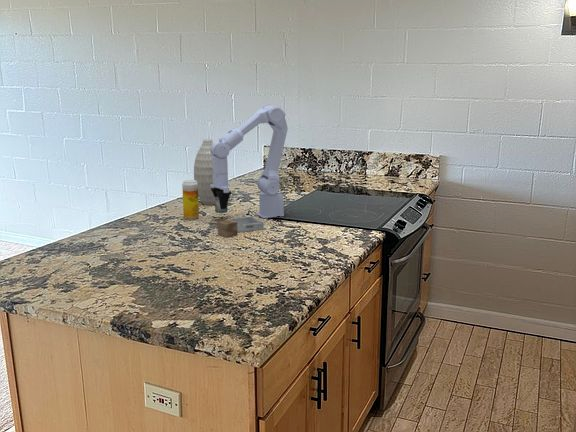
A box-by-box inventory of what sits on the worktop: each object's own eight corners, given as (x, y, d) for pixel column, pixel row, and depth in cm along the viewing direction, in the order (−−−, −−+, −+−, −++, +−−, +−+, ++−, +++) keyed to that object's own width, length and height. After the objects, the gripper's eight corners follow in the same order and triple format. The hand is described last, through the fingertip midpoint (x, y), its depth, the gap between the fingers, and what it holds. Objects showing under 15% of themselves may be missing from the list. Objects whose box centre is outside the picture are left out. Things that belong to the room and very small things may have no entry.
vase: (189, 205, 253) (186, 140, 245) (204, 199, 264) (202, 137, 257) (215, 207, 248) (213, 142, 241) (228, 201, 259) (227, 138, 252)
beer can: (195, 220, 228) (194, 183, 224) (181, 219, 229) (179, 182, 225) (201, 216, 233) (200, 180, 230) (186, 215, 234) (185, 179, 231)
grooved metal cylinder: (225, 209, 230) (225, 194, 229) (229, 212, 226) (229, 197, 224) (213, 210, 228) (212, 195, 227) (217, 213, 224) (216, 198, 222)
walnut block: (228, 232, 212) (228, 219, 211) (237, 235, 209) (237, 221, 207) (218, 235, 209) (217, 221, 207) (226, 238, 205) (226, 224, 204)
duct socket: (253, 222, 225) (253, 216, 225) (264, 229, 215) (264, 223, 215) (226, 225, 221) (226, 218, 220) (236, 233, 211) (236, 226, 210)
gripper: (205, 170, 228) (206, 204, 231) (215, 177, 215) (217, 212, 219) (222, 169, 231) (223, 202, 234) (233, 175, 218) (234, 210, 221)
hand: (221, 207), depth 227 cm, fingers closed on grooved metal cylinder, 5 cm apart
